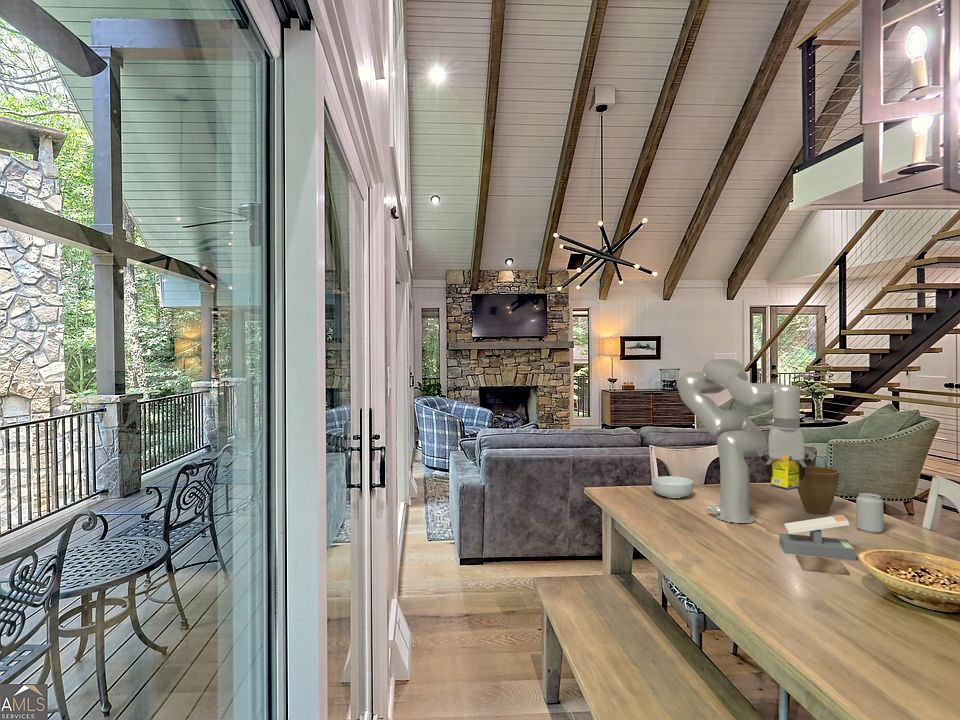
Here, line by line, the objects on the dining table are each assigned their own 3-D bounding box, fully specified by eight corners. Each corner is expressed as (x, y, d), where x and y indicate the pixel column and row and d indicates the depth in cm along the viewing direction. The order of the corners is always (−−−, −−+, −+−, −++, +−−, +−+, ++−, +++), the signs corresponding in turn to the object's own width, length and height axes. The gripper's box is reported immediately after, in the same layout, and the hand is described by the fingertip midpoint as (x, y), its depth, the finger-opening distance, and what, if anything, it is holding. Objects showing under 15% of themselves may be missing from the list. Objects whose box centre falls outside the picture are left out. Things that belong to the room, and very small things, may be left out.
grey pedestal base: (784, 553, 166) (784, 530, 166) (779, 542, 176) (779, 521, 176) (855, 560, 160) (855, 536, 160) (846, 549, 169) (846, 526, 169)
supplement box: (787, 490, 177) (788, 456, 177) (770, 486, 182) (771, 452, 182) (799, 488, 180) (800, 454, 179) (782, 484, 185) (782, 451, 185)
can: (888, 534, 183) (888, 497, 183) (862, 533, 185) (862, 496, 185) (876, 528, 191) (876, 492, 191) (852, 526, 192) (852, 491, 192)
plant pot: (813, 505, 220) (813, 464, 220) (849, 515, 206) (849, 471, 206) (784, 509, 215) (783, 467, 215) (818, 519, 201) (818, 474, 201)
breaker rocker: (788, 534, 167) (787, 529, 167) (785, 527, 174) (783, 522, 174) (849, 525, 162) (848, 520, 162) (843, 518, 168) (841, 513, 169)
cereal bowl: (647, 492, 245) (647, 475, 245) (685, 492, 244) (685, 475, 244) (658, 501, 228) (658, 484, 228) (699, 502, 227) (699, 484, 227)
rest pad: (802, 570, 153) (802, 567, 153) (795, 556, 163) (795, 554, 163) (849, 575, 149) (849, 573, 149) (839, 561, 159) (839, 559, 159)
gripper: (757, 423, 180) (756, 478, 180) (819, 426, 174) (818, 482, 174) (754, 420, 187) (753, 473, 187) (814, 423, 181) (813, 477, 181)
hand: (785, 477), depth 181 cm, fingers closed on supplement box, 8 cm apart
